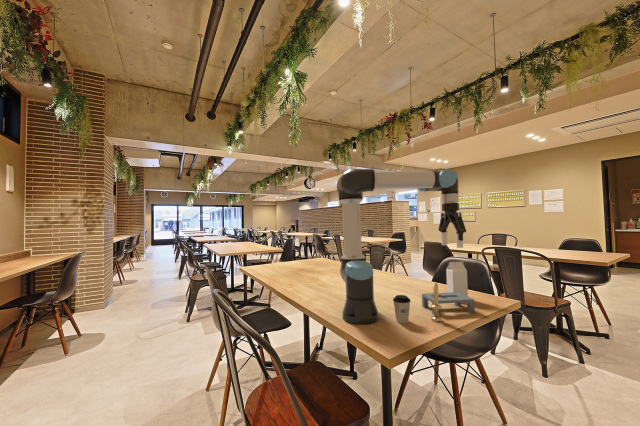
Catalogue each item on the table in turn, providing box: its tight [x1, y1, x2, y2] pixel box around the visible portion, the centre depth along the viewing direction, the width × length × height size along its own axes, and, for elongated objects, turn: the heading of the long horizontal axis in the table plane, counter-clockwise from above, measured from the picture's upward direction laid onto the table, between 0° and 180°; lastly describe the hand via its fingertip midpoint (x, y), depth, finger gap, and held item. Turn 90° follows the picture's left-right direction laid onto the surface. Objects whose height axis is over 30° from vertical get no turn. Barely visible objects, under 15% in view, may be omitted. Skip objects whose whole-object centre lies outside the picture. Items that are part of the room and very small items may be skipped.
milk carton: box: [445, 261, 469, 297], centre depth 138 cm, size 7×7×19 cm
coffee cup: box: [392, 294, 412, 324], centre depth 111 cm, size 7×7×10 cm
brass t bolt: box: [431, 282, 443, 323], centre depth 110 cm, size 4×4×15 cm
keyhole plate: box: [421, 292, 476, 315], centre depth 123 cm, size 18×12×6 cm, turn 94°
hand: (451, 246), depth 132 cm, fingers open, 13 cm apart
